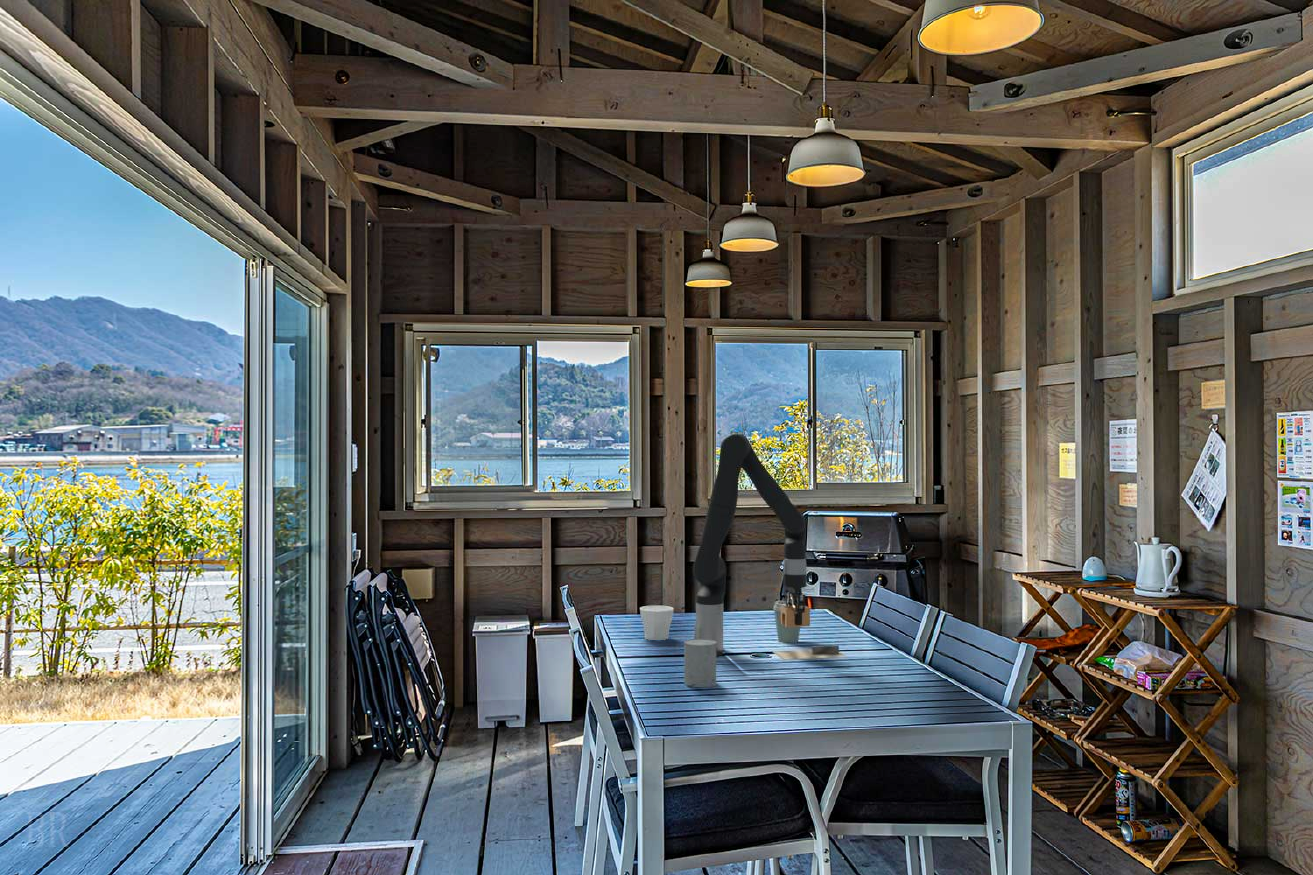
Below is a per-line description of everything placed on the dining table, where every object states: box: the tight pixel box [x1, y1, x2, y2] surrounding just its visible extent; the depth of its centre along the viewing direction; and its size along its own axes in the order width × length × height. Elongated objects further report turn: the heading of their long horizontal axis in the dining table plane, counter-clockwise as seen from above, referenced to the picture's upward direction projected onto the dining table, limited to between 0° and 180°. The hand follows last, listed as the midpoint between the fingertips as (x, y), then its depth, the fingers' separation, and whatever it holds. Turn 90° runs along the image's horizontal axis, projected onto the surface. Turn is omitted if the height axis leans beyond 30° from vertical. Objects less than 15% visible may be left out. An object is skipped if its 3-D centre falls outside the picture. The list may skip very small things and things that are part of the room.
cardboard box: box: [781, 605, 811, 628], centre depth 310 cm, size 8×6×6 cm
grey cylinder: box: [683, 638, 717, 688], centre depth 278 cm, size 10×10×12 cm
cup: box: [639, 605, 675, 641], centre depth 343 cm, size 12×12×11 cm
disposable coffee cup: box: [773, 600, 801, 644], centre depth 333 cm, size 11×11×15 cm
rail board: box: [771, 644, 848, 660], centre depth 311 cm, size 22×12×4 cm, turn 100°
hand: (795, 623), depth 310 cm, fingers closed on cardboard box, 6 cm apart
